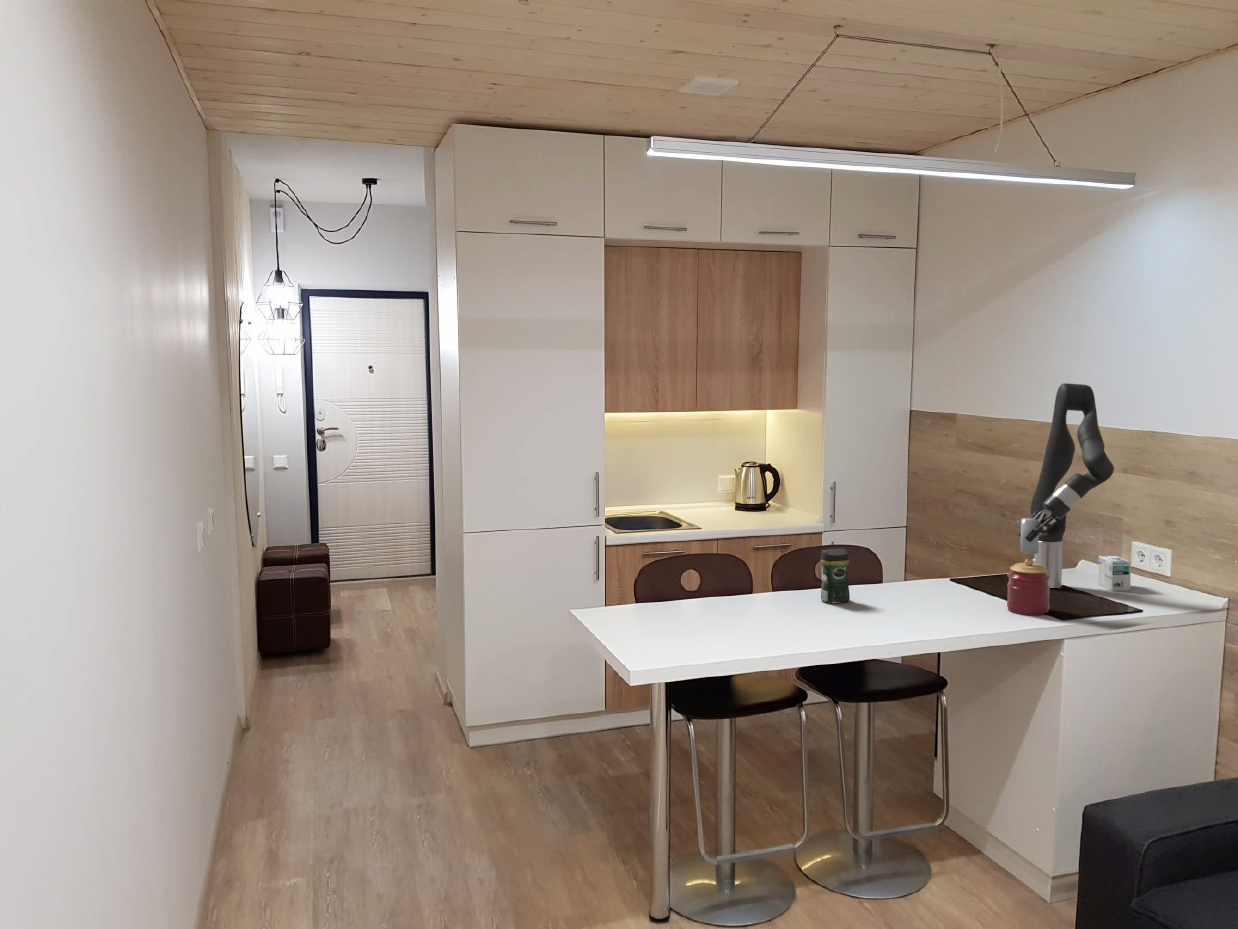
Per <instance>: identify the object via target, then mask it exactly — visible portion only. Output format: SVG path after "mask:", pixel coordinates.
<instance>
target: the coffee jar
mask: <svg viewBox="0 0 1238 929" xmlns="http://www.w3.org/2000/svg"><path fill="white" fill-rule="evenodd" d="M820 552H821V553H820V563H821V566H822V577H821V578H822V579H821V591H820V600H821V601H822V602H824V601H825V602H826V603H828V602H830V603H829V604H833V603H832V602H843V603H847V602H846V601H848V602H849V601H850V599H851V598H850V597H851V594H850V587H849V578H848V577H849V576H848V566H849V563H850V557H849V552H848V550H846V549H844V548H832V549H831V548H830V549H823V550H821V551H820ZM825 602H824V603H825Z"/></svg>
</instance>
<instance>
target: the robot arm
mask: <svg viewBox="0 0 1238 929" xmlns="http://www.w3.org/2000/svg"><path fill="white" fill-rule="evenodd" d="M1055 394H1056V395H1055V400H1054V407H1053V414H1052V420H1051V421H1052V422H1051V425H1050V426H1051V427H1050V430H1049V435H1048V438H1047V439H1048V440H1047V444H1046V447H1045V452H1044V456H1043V462H1042V466H1041V470H1040V474H1039V477H1038V482H1037V485H1036V488H1035V491H1034V493H1033V497H1032V499H1031V502H1030V507H1029V508H1030V509H1029V512H1030V517H1029V518H1035V519H1039V520H1038V522H1037V525H1036V526H1035V528H1034V530H1032V531H1031V532H1030V533H1029V534H1028V535H1027V536H1026V537H1025V539H1026V540H1027V541H1029V542H1031V541H1032V540H1033V539H1034V538H1035V537H1036V536H1037V535H1038V534H1039V549H1038V553H1037V554H1033V555H1034V558H1033V559H1032V558H1031V559H1032V560H1033V563H1035V564H1040V565H1042V566H1043V567H1045V568H1046V569H1047V570H1048V571H1047V572H1046V573H1047V574H1048V575H1049V576H1050V579H1049V580H1048V584H1049V586H1050V588H1058V589H1061V588H1062V583H1063V582H1062V581H1063V580H1062V579H1063V577H1062V576H1063V540H1064V539H1063V538H1064V535H1065V532H1066V524H1067V514H1068V513H1069V512H1071V510H1073V508H1074V507H1075V506H1076V505H1077V504H1078V503H1079V502H1080V501H1081V499H1083V497H1085V496H1086V495H1087V494H1088V493H1089V492H1090V490H1093V489H1095V488H1096V487H1098V486H1100V485H1101V484H1103V483H1105V482H1107V481H1108V480H1110V478H1111V477H1112V476H1113V474H1114V471H1115V467H1114V465H1113V463H1112V462H1111V460H1110V458H1109V457H1108V455H1107V454H1106V452H1105V448H1106V447H1105V443H1104V438H1103V436H1102V433H1101V430H1100V427H1099V421H1098V414H1097V405H1096V399H1095V393H1094V390H1093V389H1092V387H1091V386H1090V385H1087V384H1079V383H1064V382H1063V383H1062V384H1060V385H1059V386H1058V388H1057V390H1056V393H1055ZM1068 411H1074V412H1075V411H1076V412H1082V413H1083V419H1082V421H1081V423H1080V424H1079V426H1078V428H1077V434H1076V436H1077V441H1078V443H1079V446H1080V449H1081V456H1082V457H1081V458H1082V462H1083V464H1084V466H1085V468H1086V469H1087V471H1088V472H1086V473H1084V474H1081V473H1077V472H1076V473H1074V474H1072V475H1071V476H1070V477H1069V478H1068V479H1067V480H1065V482H1064V483H1063V484H1062V485H1061V486H1059V487H1058V488H1057V486H1058V484H1059V483H1060V482H1061V480H1062V479H1063V478H1064V477H1065V476H1066V474H1067V473H1068V472H1069V470H1070V468H1071V466H1072V464H1073V460H1074V456H1075V452H1076V446H1075V441H1074V439H1073V436H1072V434H1071V433H1070V430H1069V428H1068V424H1067V415H1068ZM1018 536H1019V538H1021V531H1019V533H1018ZM1060 587H1061V588H1060Z"/></svg>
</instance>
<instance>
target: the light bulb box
mask: <svg viewBox="0 0 1238 929" xmlns="http://www.w3.org/2000/svg"><path fill="white" fill-rule="evenodd" d="M1131 567H1132V562H1131V560H1127V559H1124V558H1123V557H1119V556H1118V555H1098V574H1097V575H1098V577H1097V578H1098V580H1097V584H1098V585H1100V586H1101V587H1103V588H1105V589H1107V590H1110V591H1112V592H1115V591H1117V592H1121V591H1131V574H1132V572H1131V570H1132V568H1131Z"/></svg>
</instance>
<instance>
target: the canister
mask: <svg viewBox="0 0 1238 929" xmlns="http://www.w3.org/2000/svg"><path fill="white" fill-rule="evenodd" d="M1009 570H1010V572H1008V573H1007V574H1006V575H1007V577H1008V582H1007V584H1006V585H1007V600H1006V607H1007V610H1008V611H1009V612H1011V613H1015V614H1019V615H1024V614H1026V615H1025V616H1040V615H1039V614H1043V615H1045V614H1044V613H1047V612H1048V611H1049V612H1050V609H1051V607H1050V590H1051V589H1050V586H1049V584H1048V580H1049V579H1050V576H1049V575H1048V574H1047V573H1046V572H1047V571H1048V570H1047V569H1046V568H1045V567H1043V566H1042V565H1040V564H1035V563H1033V560H1032V558H1029V557H1028V558H1026V559H1025V560H1024V562H1017V563H1015V564H1013V565H1012V566H1010V568H1009ZM1049 612H1048V613H1049ZM1048 613H1047V614H1048ZM1027 614H1028V615H1027ZM1029 614H1030V615H1029Z"/></svg>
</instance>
